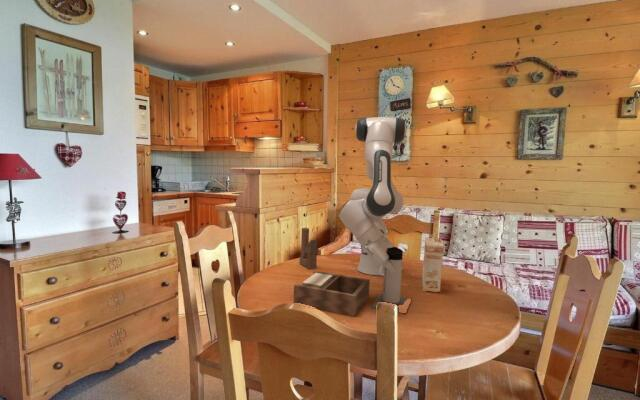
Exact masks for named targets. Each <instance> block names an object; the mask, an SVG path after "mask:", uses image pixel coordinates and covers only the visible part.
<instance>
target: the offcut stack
mask: <svg viewBox="0 0 640 400" xmlns="http://www.w3.org/2000/svg"><path fill="white" fill-rule="evenodd" d="M331 281H332V275H327V274H321V273H315V274H312V275H311V276H309V277H308V278H306V279H305V280H304V281H303V282H302V284H303V285H305V286H310V287H316V288H321V289H323V288H324V287H325V286H326V285H327V284H328V283H330V282H331Z"/></svg>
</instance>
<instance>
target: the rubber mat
mask: <svg viewBox="0 0 640 400" xmlns="http://www.w3.org/2000/svg"><path fill="white" fill-rule="evenodd" d="M382 298H383V292H380V293H379V295H378V297H377V298H376V299H375V300H374V303H373V304H372V306H371V308H372V309H376V305H377V303H378V302H383V301H382ZM408 298H409V297H405V296H400V303H399V304H398V305H397V306H399V305H403V304H404V302H405V301H406V300H407V299H408ZM376 310H377V309H376ZM398 312H399V307H398Z"/></svg>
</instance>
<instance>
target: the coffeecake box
mask: <svg viewBox="0 0 640 400" xmlns="http://www.w3.org/2000/svg"><path fill="white" fill-rule="evenodd" d="M424 241H425V242H424V250H423V251H424V253H423V264H422V265H423V266H422V278H421V279H422V282H421V283H422V286H423V289H424V290H434V291H440V292H441V283H442V282H441V281H442V271H443V259H444V258H443V257H444V248H445V247H444V243H443V240H442V238H436V237H425V239H424ZM423 289H422V290H423Z"/></svg>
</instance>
